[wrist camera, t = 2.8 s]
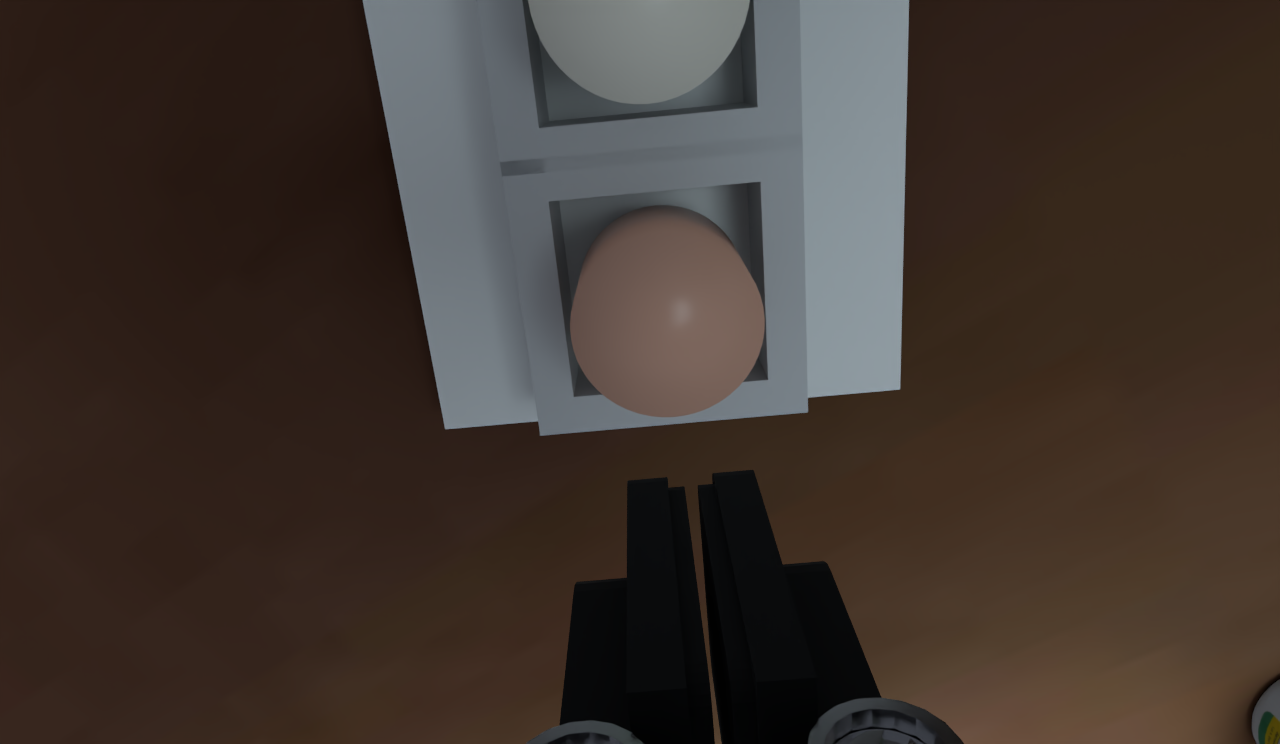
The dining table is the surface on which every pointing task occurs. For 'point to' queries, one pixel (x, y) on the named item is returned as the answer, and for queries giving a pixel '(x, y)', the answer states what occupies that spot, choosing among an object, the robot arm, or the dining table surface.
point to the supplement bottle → (1267, 716)
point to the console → (647, 198)
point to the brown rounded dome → (665, 313)
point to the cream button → (638, 43)
